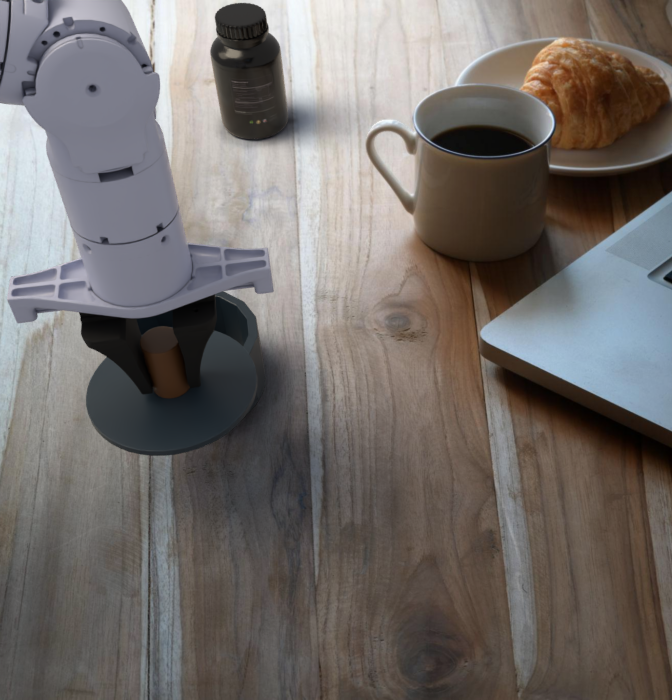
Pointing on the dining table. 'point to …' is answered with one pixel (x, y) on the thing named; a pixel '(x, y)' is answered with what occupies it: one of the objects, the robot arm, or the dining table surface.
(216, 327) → the pot
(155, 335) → the lid
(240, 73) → the supplement bottle
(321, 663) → the dining table surface
